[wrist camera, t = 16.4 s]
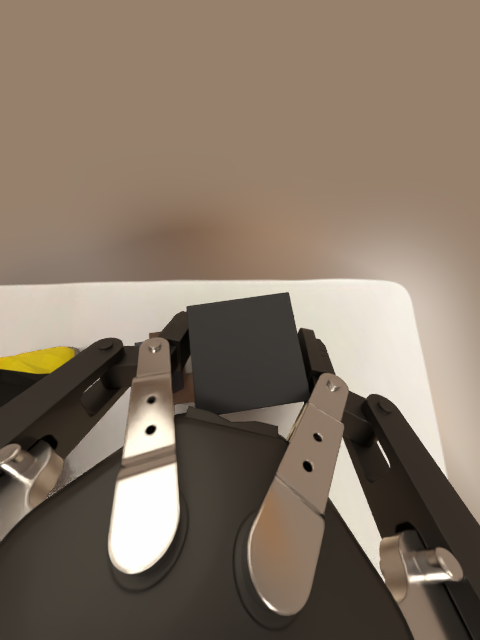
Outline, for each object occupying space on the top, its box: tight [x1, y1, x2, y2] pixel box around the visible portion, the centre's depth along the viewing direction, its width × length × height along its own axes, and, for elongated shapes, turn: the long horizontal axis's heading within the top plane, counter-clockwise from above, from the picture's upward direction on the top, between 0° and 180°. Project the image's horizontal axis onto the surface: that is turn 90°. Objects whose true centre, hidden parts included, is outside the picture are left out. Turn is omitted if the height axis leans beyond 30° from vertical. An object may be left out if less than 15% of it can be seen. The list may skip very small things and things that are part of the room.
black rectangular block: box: [187, 292, 310, 415], centre depth 13 cm, size 5×5×9 cm
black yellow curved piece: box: [0, 347, 80, 408], centre depth 18 cm, size 15×6×10 cm
